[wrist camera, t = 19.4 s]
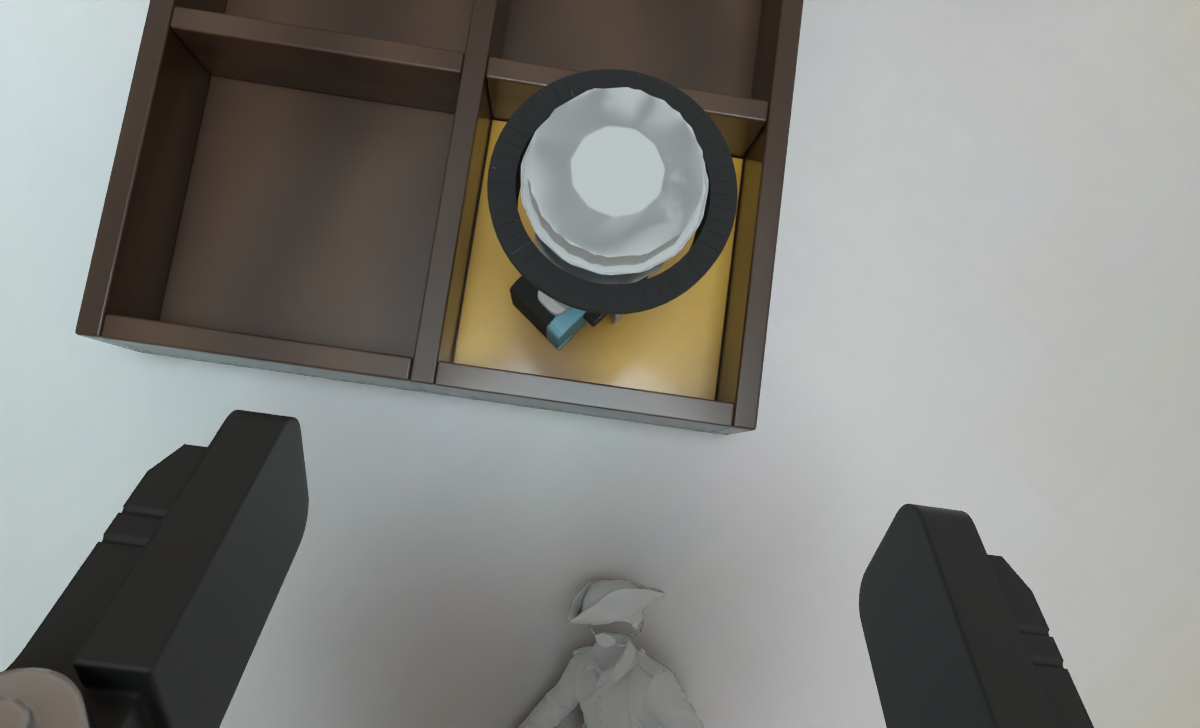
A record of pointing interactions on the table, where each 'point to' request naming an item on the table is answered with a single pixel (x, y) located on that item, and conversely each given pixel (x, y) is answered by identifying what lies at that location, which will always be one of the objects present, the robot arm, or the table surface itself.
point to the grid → (423, 198)
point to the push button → (608, 197)
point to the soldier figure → (615, 669)
